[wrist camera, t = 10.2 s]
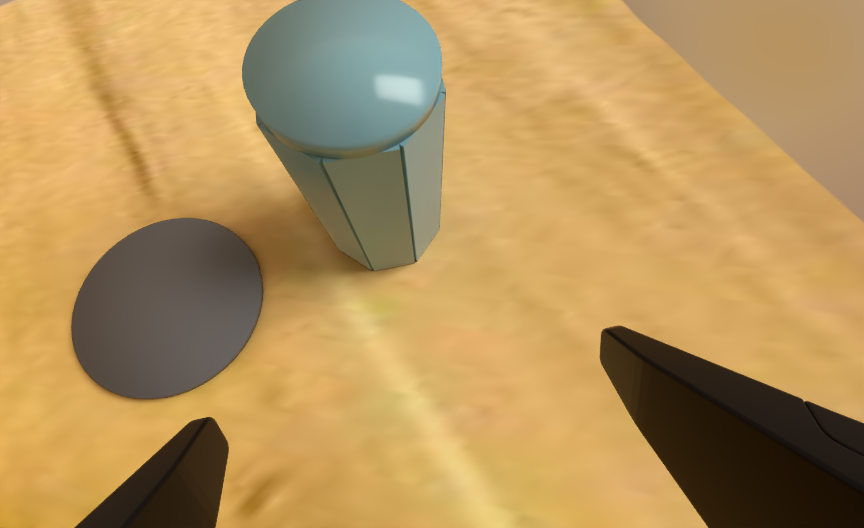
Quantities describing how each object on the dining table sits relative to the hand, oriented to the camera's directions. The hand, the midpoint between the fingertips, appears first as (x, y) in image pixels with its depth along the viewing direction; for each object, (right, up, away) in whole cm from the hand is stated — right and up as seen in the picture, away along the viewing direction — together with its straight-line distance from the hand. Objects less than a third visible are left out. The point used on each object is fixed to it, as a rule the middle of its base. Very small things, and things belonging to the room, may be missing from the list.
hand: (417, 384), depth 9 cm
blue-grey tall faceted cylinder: (-3, +6, +16) cm, 17 cm away
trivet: (-16, 0, +14) cm, 21 cm away
